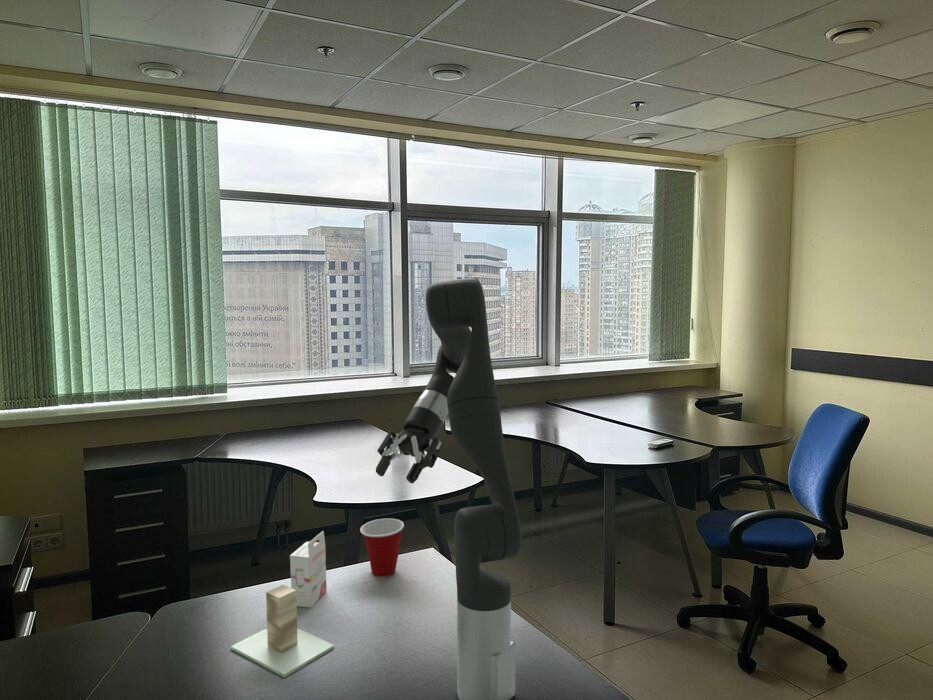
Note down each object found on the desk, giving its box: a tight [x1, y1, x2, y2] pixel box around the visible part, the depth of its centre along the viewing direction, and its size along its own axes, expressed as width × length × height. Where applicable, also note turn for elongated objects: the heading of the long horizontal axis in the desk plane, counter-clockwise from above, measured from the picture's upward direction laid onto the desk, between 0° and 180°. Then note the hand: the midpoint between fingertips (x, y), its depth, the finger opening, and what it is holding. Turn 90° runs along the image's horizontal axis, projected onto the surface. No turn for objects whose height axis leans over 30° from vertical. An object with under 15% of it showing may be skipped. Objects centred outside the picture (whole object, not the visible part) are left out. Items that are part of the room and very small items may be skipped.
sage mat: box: [230, 627, 335, 678], centre depth 127 cm, size 16×12×1 cm
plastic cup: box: [359, 518, 405, 578], centre depth 161 cm, size 11×11×12 cm
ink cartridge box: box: [289, 530, 327, 609], centre depth 147 cm, size 9×5×15 cm, turn 168°
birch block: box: [265, 584, 298, 653], centre depth 126 cm, size 4×4×11 cm
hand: (393, 477), depth 136 cm, fingers open, 8 cm apart
